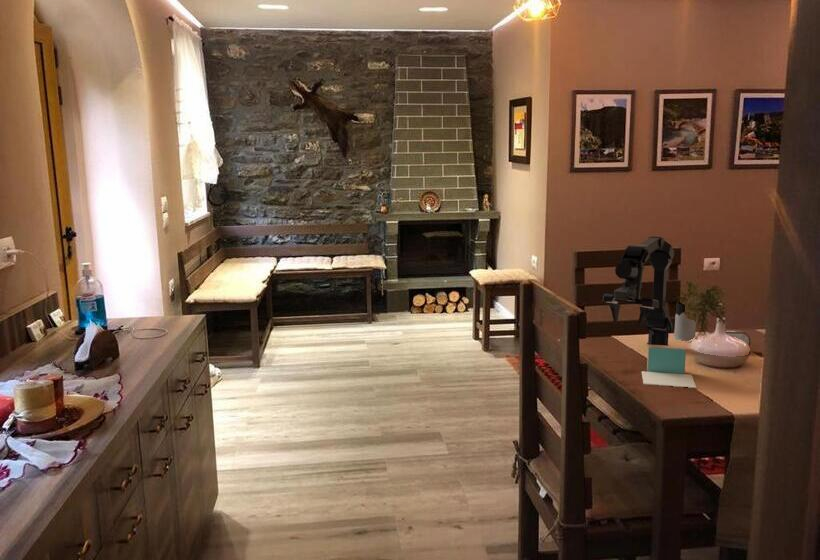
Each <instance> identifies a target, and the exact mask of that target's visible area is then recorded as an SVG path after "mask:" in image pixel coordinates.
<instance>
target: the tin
mask: <svg viewBox="0 0 820 560" xmlns="http://www.w3.org/2000/svg"><path fill="white" fill-rule="evenodd" d="M725 330H726V333H727V334H728V335H730V336H732V337H736V338H738V339H741V340H743V341H745V342H746V343H747V344H748V345H749V347H750V346H751V342H752V341H751V337H750V336H749V334H748V333H747V332H746V331H745V330H742V329H725ZM714 331H715V330H713V331H711V333H713V332H714Z"/></svg>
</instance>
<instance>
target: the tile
mask: <svg viewBox="0 0 820 560" xmlns="http://www.w3.org/2000/svg"><path fill="white" fill-rule="evenodd" d="M686 355H687V348H686V346H680V345H679V346H677V345H669V346H664V345H648V344H647V359H646V361H647V363H646V372H660V373H674V374H686V371H685V370H686V359H687V356H686Z"/></svg>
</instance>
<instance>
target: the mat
mask: <svg viewBox="0 0 820 560" xmlns="http://www.w3.org/2000/svg"><path fill="white" fill-rule="evenodd" d="M641 376H642V383H643V385H644V386H657V385H658V386H659V387H670V386H673V387H675V388H683V387H688V388H687V389H697V386H696V383H695V380H694V378H693V375H692V374H686V373H685V374H674V373H660V372H647V370H646V371H645V370H644V371H643V370H642V371H641ZM673 387H672V388H673Z"/></svg>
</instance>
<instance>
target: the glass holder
mask: <svg viewBox="0 0 820 560" xmlns="http://www.w3.org/2000/svg"><path fill="white" fill-rule="evenodd" d="M680 301H681V300H679V301H676V309H675V311H676V312H675V318H674V320H675V321H674V331H673V332H674V334H673V337H672V339H673V338H674V339H676V340H675V341H677V340H681V341H680V342H682V341H689V340H691V339H693V338H694V337H695V338H696V329H697V321H696V322H695V321H694V320H690V319H688V318H686V316H685V314H684V312H685V305H684V304H682V303H680ZM674 339H673V340H674Z"/></svg>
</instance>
